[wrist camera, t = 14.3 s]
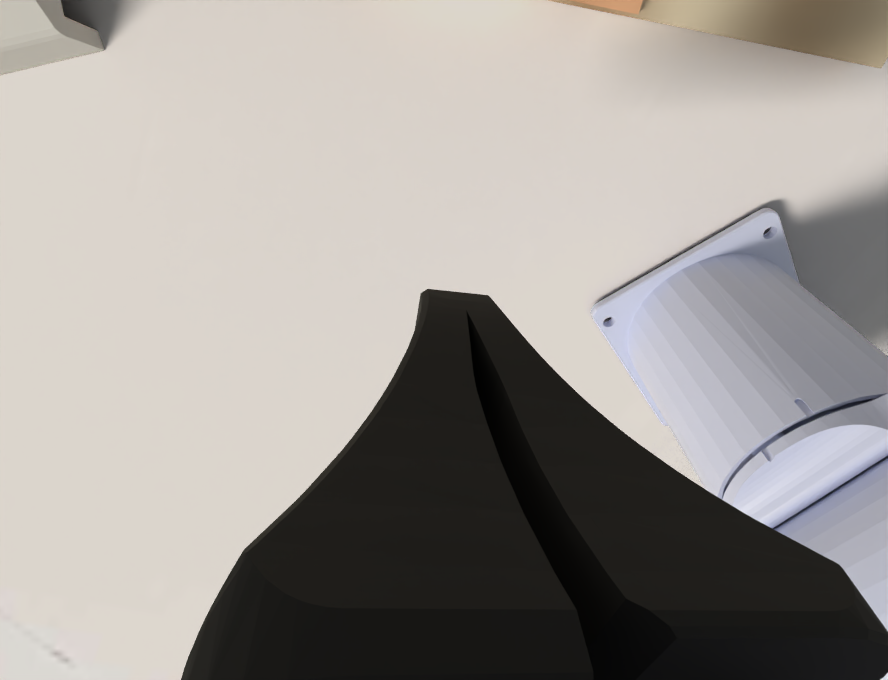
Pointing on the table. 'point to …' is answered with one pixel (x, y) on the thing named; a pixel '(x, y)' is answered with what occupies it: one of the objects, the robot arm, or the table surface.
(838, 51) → the rail
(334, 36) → the table surface
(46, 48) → the grey rounded block
